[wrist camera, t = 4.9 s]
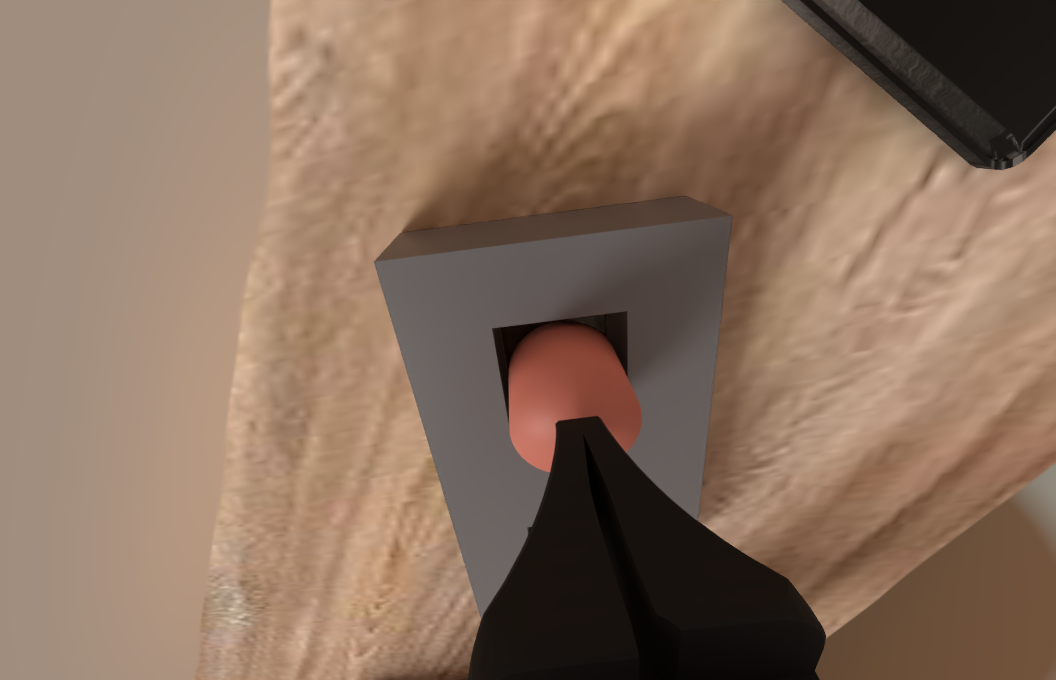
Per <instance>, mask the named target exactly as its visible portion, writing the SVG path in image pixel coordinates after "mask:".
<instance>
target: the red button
mask: <svg viewBox="0 0 1056 680" xmlns="http://www.w3.org/2000/svg"><path fill="white" fill-rule="evenodd" d="M508 373H509V429H510V437H511V440H512V443H513V445H514V447H515V449H516V450H517V452H518V453H519V454H520V456H521V457H522V458H523V459H524V460H526V461H527V462H528V463H529V464H531V465H533V466H534V467H536V468H538V469H540V470H543V471H546V472H549V473H550V470H551V465H552V460H553V455H554V449H555V441H556V426H555V424H556V423H557V422H558V421H560V420H568V419H576V418H584V417H592V416H599V417H600V418H601V419H602V421H603V422H604V424H605V425H606V427H607V428H608V430H609V431H610V433H611V434H612V435H613V437H614V438H615V439H616V441H617V442H618V443H619V444H620V446H621V447H622V448H623V449H624V451H625V452H627V451H628V450H629V449H630V448H631V447H632V445H633V444H634V442H635V441H636V439H637V437H638V435H639V432H640V429H641V424H642V411H641V407H640V403H639V401H638V399H637V397H636V395H635V392H634V390H633V388H632V386H631V384H630V382H629V380H628V378H627V376H626V374H625V371H624V369H623V367H622V365H621V363H620V361H619V359H618V357H617V355H616V353H615V350H614V348H613V346H612V345H611V343H610V341H609V340H608V339H607V338H606V337H605V336H604V335H603V334H602V333H601V332H600V331H598V330H597V329H595V328H593V327H591V326H589V325H587V324H583V323H580V322H574V321H559V322H553V323H549V324H546V325H543V326H541V327H539V328H536V329H535V330H533V331H531V332H530V333H529V334H527V335H526V336H525V337H524V338H523V339H522V340H521V341H520V342H519V343H518V345H517V346H516V348H515V349H514V351H513V353H512V356H511V358H510V362H509V371H508Z"/></svg>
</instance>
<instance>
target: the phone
mask: <svg viewBox="0 0 1056 680" xmlns="http://www.w3.org/2000/svg"><path fill="white" fill-rule="evenodd" d="M781 1H782V2H784V3H785V4H786V5H787V6H788V7H789V8H791V9H792V10H793V11H794V12H795V13H796V14H797V15H799V16H800V17H801V18H802V19H803V20H804V21H805V22H807V23H808V24H809V25H810V26H811V27H812V28H814V29H815V30H816V31H817V32H818V33H819V34H820V35H822V36H823V37H824V38H825V39H826V40H827V41H829V42H830V43H831V44H832V45H833V46H834V47H835V48H837V49H838V50H839V51H840V52H841V53H842V54H844V55H845V56H846V57H847V58H848V59H849V60H850V61H852V62H853V63H854V64H855V65H856V66H857V67H859V68H860V69H861V70H862V71H863V72H864V73H865V74H867V75H868V76H869V77H870V78H871V79H872V80H873V81H875V82H876V83H877V84H878V85H879V86H880V87H882V88H883V89H884V90H885V91H886V92H887V93H888V94H890V95H891V96H892V97H893V98H894V99H895V100H897V101H898V102H899V103H900V104H901V105H902V106H903V107H905V108H906V109H907V110H908V111H909V112H910V113H912V114H913V115H914V116H915V117H916V118H917V119H918V120H920V121H921V122H922V123H923V124H924V125H925V126H926V127H928V128H929V129H930V130H931V131H932V132H933V133H935V134H936V135H937V136H938V137H939V138H940V139H941V140H943V141H944V142H945V143H946V144H947V145H948V146H950V147H951V148H952V149H953V150H954V151H955V152H956V153H958V154H959V155H960V156H961V157H962V158H963V159H965V160H966V161H967V162H968V163H969V164H970V165H972V166H974V167H976V168H985V169H995V170H1004V169H1008V168H1011V167H1014V166H1016V165H1017V164H1019V163H1021V162H1023V161H1024V160H1025V159H1026V158H1027V157H1029V156H1030V155H1031V154H1032V153H1033V152H1034V151H1035V150H1036V149H1037V148H1038V147H1039V146H1040V145H1041V144H1042V143H1043V142H1044V141H1045V140H1046V139H1047V138H1048V137H1049V136H1050V135H1051V134H1052V133H1053V132H1054V131H1055V130H1056V0H781Z"/></svg>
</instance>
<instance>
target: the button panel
mask: <svg viewBox="0 0 1056 680" xmlns="http://www.w3.org/2000/svg"><path fill="white" fill-rule="evenodd" d="M731 224H732V215H730V214H728V213H725V212H723V211H721V210H718V209H716V208H713V207H711V206H709V205H706V204H704V203H702V202H699V201H697V200H694V199H692V198H690V197H687V196H682V197H674V198H666V199H658V200H651V201H643V202H635V203H628V204H620V205H612V206H604V207H597V208H589V209H581V210H574V211H566V212H558V213H550V214H543V215H535V216H527V217H520V218H512V219H504V220H496V221H489V222H481V223H473V224H466V225H458V226H450V227H442V228H435V229H427V230H419V231H412V232H404V233H400V234H399V235H398V236H397V237H396V238H395V239H394V240H393V242H392V243H391V244H390V245H389V246H388V247H387V248H386V249H385V250H384V251H383V252H382V254H381V255H380V256H379V257H378V258H377V259H376V260H375V261H374V264H375V267H376V270H377V274H378V277H379V280H380V284H381V287H382V290H383V294H384V297H385V300H386V304H387V307H388V310H389V314H390V317H391V320H392V324H393V327H394V330H395V334H396V337H397V340H398V344H399V347H400V350H401V354H402V357H403V360H404V364H405V367H406V370H407V373H408V377H409V380H410V383H411V387H412V390H413V393H414V397H415V400H416V403H417V407H418V410H419V413H420V417H421V420H422V423H423V427H424V430H425V433H426V437H427V440H428V443H429V447H430V450H431V453H432V457H433V460H434V463H435V467H436V470H437V473H438V477H439V480H440V483H441V487H442V490H443V493H444V497H445V500H446V503H447V507H448V510H449V513H450V517H451V520H452V523H453V527H454V530H455V533H456V537H457V540H458V543H459V547H460V550H461V553H462V557H463V560H464V563H465V566H466V570H467V573H468V576H469V580H470V583H471V586H472V590H473V593H474V596H475V600H476V603H477V606H478V610H479V613H480V616H481V620H482V616H483V614H484V612H485V611H486V609H487V607H488V606H489V604H490V603H491V601H492V600H493V598H494V597H495V595H496V593H497V592H498V590H499V589H500V587H501V586H502V584H503V582H504V581H505V579H506V577H507V575H508V573H509V572H510V570H511V568H512V566H513V564H514V562H515V561H516V559H517V557H518V555H519V553H520V551H521V549H522V547H523V545H524V543H525V541H526V539H527V536H528V534H529V532H530V529H531V527H532V525H533V523H534V520H535V517H536V515H537V512H538V510H539V507H540V504H541V501H542V498H543V495H544V492H545V488H546V485H547V481H548V478H549V474H550V473H549V472H546V471H543V470H540V469H538V468H536V467H534V466H533V465H531V464H529V463H528V462H527V461H526V460H524V459H523V458H522V457H521V456H520V454H519V453H518V452H517V450H516V449H515V447H514V445H513V443H512V440H511V437H510V429H509V375H508V369H507V363H506V357H505V351H504V345H503V339H502V333H501V327H507V326H515V325H523V324H531V323H538V322H546V321H554V320H562V319H570V318H578V317H586V316H594V315H601V314H606V338H607V339H608V340H609V341H610V343H611V345H612V346H613V348H614V350H615V353H616V355H617V357H618V359H619V361H620V363H621V365H622V367H623V369H624V371H625V374H626V376H627V378H628V380H629V382H630V384H631V386H632V388H633V390H634V392H635V395H636V397H637V399H638V401H639V403H640V407H641V411H642V424H641V429H640V432H639V435H638V437H637V439H636V441H635V442H634V444H633V445H632V447H631V448H630V449H629V450H628V451H627V452H626V453H627V454H628V455H629V456H630V458H631V459H632V460H633V461H634V462H635V463H636V465H637V466H638V467H639V468H640V469H641V470H642V471H643V472H644V473H645V474H646V475H647V476H648V477H649V478H650V479H651V480H652V481H653V482H654V483H655V484H656V485H657V486H658V487H659V488H660V489H661V490H662V491H663V492H664V493H665V494H666V495H667V496H668V497H670V498H671V499H672V500H673V501H674V502H675V503H676V504H677V505H679V506H680V507H681V508H682V509H683V510H685V511H686V512H687V513H688V514H690V515H691V516H692V517H693V518H694V519H696V520H697V521H698V515H699V506H700V497H701V489H702V480H703V471H704V462H705V453H706V445H707V436H708V427H709V418H710V409H711V400H712V392H713V383H714V374H715V365H716V356H717V347H718V339H719V330H720V321H721V312H722V303H723V294H724V286H725V277H726V268H727V259H728V250H729V241H730V233H731Z"/></svg>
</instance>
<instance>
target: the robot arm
mask: <svg viewBox="0 0 1056 680" xmlns="http://www.w3.org/2000/svg"><path fill="white" fill-rule="evenodd" d="M555 426H556V441H555V449H554V455H553V460H552V465H551V470H550V474H549V478H548V481H547V485H546V488H545V492H544V495H543V498H542V501H541V504H540V507H539V510H538V512H537V515H536V517H535V520H534V523H533V525H532V527H531V529H530V532H529V534H528V536H527V539H526V541H525V543H524V545H523V547H522V549H521V551H520V553H519V555H518V557H517V559H516V561H515V562H514V564H513V566H512V568H511V570H510V572H509V573H508V575H507V577H506V579H505V581H504V582H503V584H502V586H501V587H500V589H499V590H498V592H497V593H496V595H495V597H494V598H493V600H492V601H491V603H490V604H489V606H488V607H487V609H486V611H485V612H484V614H483V616H482V620H481V623H480V626H479V629H478V633H477V636H476V640H475V643H474V647H473V652H472V656H471V662H470V668H469V679H468V680H819V678H818V676H817V674H816V672H815V668H816V666H817V663H818V661H819V658H820V656H821V654H822V651H823V649H824V645H825V639H826V634H825V632H824V629H823V627H822V625H821V624H820V622H819V621H818V619H817V617H816V616H815V614H814V613H813V611H812V610H811V608H810V607H809V605H808V604H807V603H806V601H805V600H804V599H803V597H802V596H801V595H800V594H799V592H798V591H797V590H796V588H795V587H794V586H793V585H792V583H791V582H790V581H789V580H788V579H787V578H786V577H784V576H782V575H780V574H779V573H777V572H775V571H773V570H772V569H770V568H768V567H766V566H765V565H763V564H761V563H759V562H758V561H756V560H754V559H752V558H751V557H749V556H747V555H746V554H744V553H743V552H741V551H740V550H738V549H736V548H735V547H733V546H732V545H730V544H729V543H727V542H726V541H724V540H723V539H722V538H720V537H719V536H718V535H716V534H715V533H713V532H712V531H711V530H709V529H708V528H707V527H705V526H704V525H703V524H701V523H700V522H698V521H697V520H696V519H694V518H693V517H692V516H691V515H690V514H688V513H687V512H686V511H685V510H683V509H682V508H681V507H680V506H679V505H677V504H676V503H675V502H674V501H673V500H672V499H671V498H670V497H668V496H667V495H666V494H665V493H664V492H663V491H662V490H661V489H660V488H659V487H658V486H657V485H656V484H655V483H654V482H653V481H652V480H651V479H650V478H649V477H648V476H647V475H646V474H645V473H644V472H643V471H642V470H641V469H640V468H639V467H638V466H637V465H636V463H635V462H634V461H633V460H632V459H631V458H630V456H629V455H628V454H627V453H626V452H625V451H624V449H623V448H622V447H621V446H620V444H619V443H618V442H617V441H616V439H615V438H614V437H613V435H612V434H611V433H610V431H609V430H608V428H607V427H606V425H605V424H604V422H603V421H602V419H601V418H600V417H599V416H592V417H584V418H576V419H568V420H560V421H558V422H557V423H556V424H555Z"/></svg>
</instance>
